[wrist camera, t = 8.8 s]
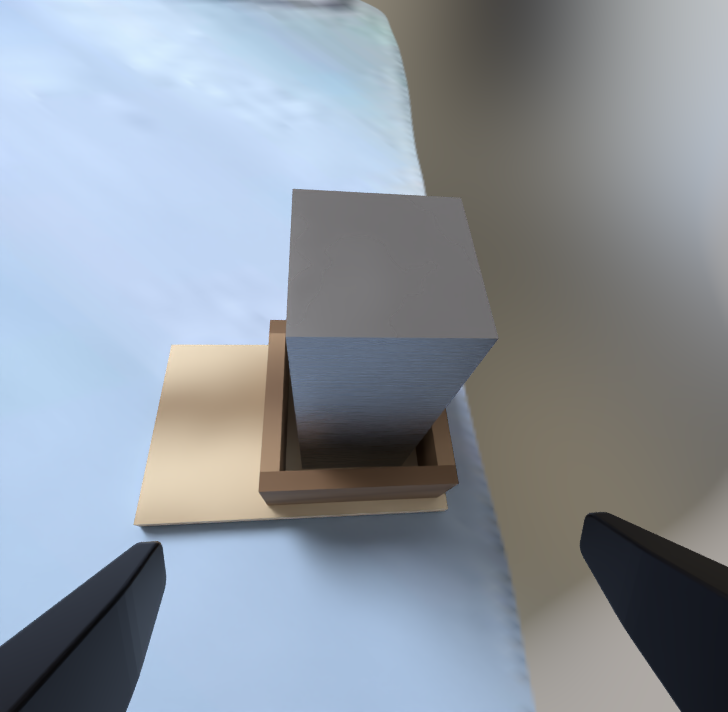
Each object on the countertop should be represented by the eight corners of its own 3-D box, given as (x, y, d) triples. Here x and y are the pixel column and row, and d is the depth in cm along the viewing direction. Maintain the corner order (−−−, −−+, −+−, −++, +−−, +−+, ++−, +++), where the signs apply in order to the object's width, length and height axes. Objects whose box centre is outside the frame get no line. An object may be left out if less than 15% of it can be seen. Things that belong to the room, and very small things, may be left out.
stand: (443, 511, 18) (471, 496, 15) (139, 526, 16) (96, 514, 13) (419, 351, 22) (437, 313, 19) (175, 350, 20) (149, 309, 17)
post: (401, 465, 18) (498, 338, 8) (302, 469, 17) (285, 337, 8) (392, 377, 20) (461, 198, 11) (304, 378, 20) (292, 189, 10)
